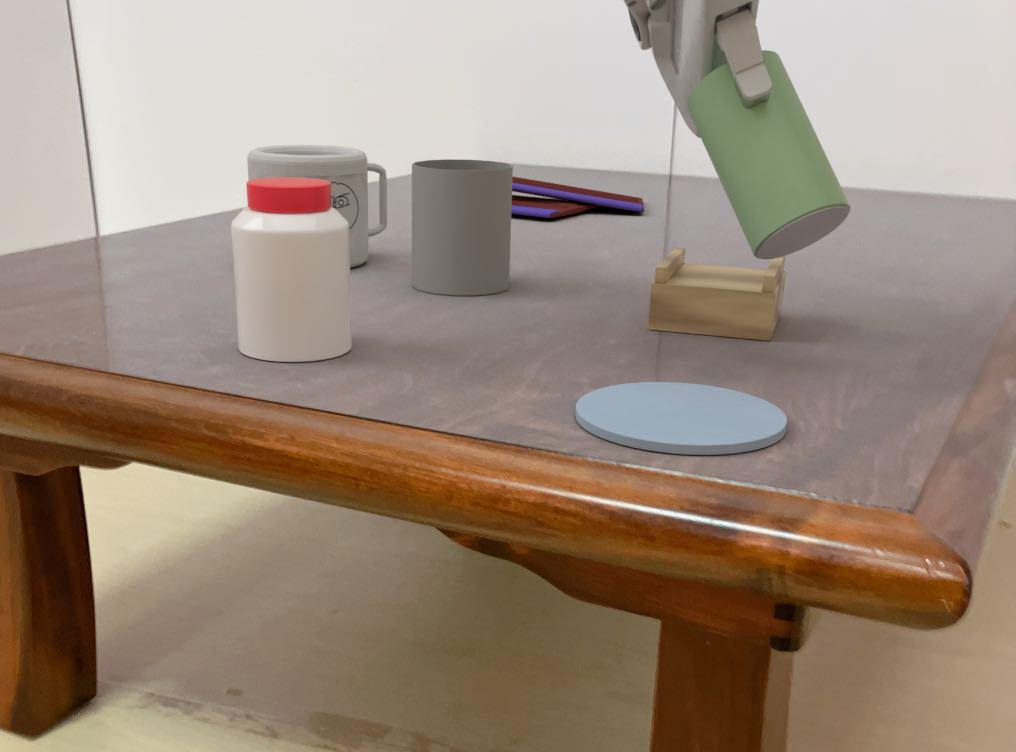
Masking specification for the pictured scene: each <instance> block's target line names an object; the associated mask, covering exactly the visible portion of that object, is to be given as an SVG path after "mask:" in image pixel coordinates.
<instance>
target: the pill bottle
mask: <svg viewBox="0 0 1016 752" xmlns="http://www.w3.org/2000/svg"><path fill="white" fill-rule="evenodd" d="M245 183H246V198H247V199H246V200H247V206H246V207H244V208H243V209H242V210H241V211H240V212H239V214H237V216H236V217H235V218H234V219H233V220H232V221H231V225H230V228H231V247H232V248H231V249H232V259H233V260H232V263H233V281H234V296H235V314H236V329H237V330H236V331H237V332H236V333H237V345H238V346H237V347H238V348H237V349H238V351H239V352H240V353H241V354H243V355H244V356H246V357H248V358H252V359H256V360H261V361H268V362H278V363H306V362H308V363H309V362H319V361H323V360H324V361H325V360H329V359H335V358H337V357H341V356H343V355H345V354H347V353H348V352H350V351H351V350H352V347H353V342H352V341H353V338H352V334H353V333H352V332H353V331H352V291H351V290H352V289H351V268H350V236H349V223H348V221H347V220H346V219H345V218H344V217H343V216H342V215H341V214H340V213H339V212H338V211H337V210H336V209H335V208H333V207H331V206H332V203H331V183H330V182H329V181H326V180H321V179H314V178H298V177H276V178H261V179H254V180H250V181H249V180H247V181H246V182H245Z"/></svg>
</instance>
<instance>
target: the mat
mask: <svg viewBox="0 0 1016 752" xmlns="http://www.w3.org/2000/svg"><path fill="white" fill-rule="evenodd" d="M574 416H575V420H576V422H577V423H578V425H579V426H580V427H582V429H584V430H585V431H587V432H588V433H590V434H592V435H594V436H596V437H598V438H600V439H603V440H606V441H608V442H611V443H614V444H617V445H620V446H624V447H629V448H633V449H638V450H643V451H649V452H657V453H661V454H662V453H664V454H674V455H685V456H686V455H687V456H717V455H718V456H720V455H721V456H722V455H733V454H741V453H748V452H752V451H753V452H754V451H757V450H760V449H764V448H768V447H769V446H772V445H775V444H776V443H778V442H779V441H780V440H781V439H783V438H784V437H785V435H786V433H787V429H788V418H787V415H786V414H785V412H784V411H783V410H782V409H780V407H778V406H777V405H775V404H773V403H771V402H770V401H767V400H766V399H763V398H760V397H758V396H755V395H753V394H749V393H745V392H743V391H739V390H734V389H729V388H725V387H720V386H714V385H707V384H700V383H689V382H678V381H677V382H673V381H643V382H630V383H628V382H627V383H621V384H620V383H619V384H613V385H609V386H605V387H601V388H597V389H594V390H592V391H590V392H589V391H588V392H587V393H585V394H584V395H582V396H581V397H580V398H579V399H578V400H577V402H576V404H575V411H574Z"/></svg>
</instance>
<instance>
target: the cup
mask: <svg viewBox="0 0 1016 752" xmlns="http://www.w3.org/2000/svg"><path fill="white" fill-rule="evenodd" d="M513 174H514V165H513V164H510V163H507V162H502V161H494V160H481V159H480V160H478V159H451V158H450V159H448V158H447V159H446V158H445V159H426V160H420V161H414V162H413V163H412V164H411V286H412V287H413V288H415V289H416V290H417V291H421V292H425V293H429V294H433V295H434V294H435V295H444V296H445V295H446V296H454V297H455V296H456V297H457V296H483V295H493V294H498V293H502V292H504V291H507V290H509V287H510V271H511V270H510V269H511V267H510V265H511V239H512V238H511V237H512V236H511V235H512V214H511V209H512V195H513V191H512V177H514V175H513Z"/></svg>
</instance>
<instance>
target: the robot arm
mask: <svg viewBox="0 0 1016 752" xmlns="http://www.w3.org/2000/svg"><path fill="white" fill-rule="evenodd" d="M623 2H624V4H625V6H626V7H627V10H628V11H627V12H628V15H629V20H630V24H631V27H632V31H633V34H634V36H635V39H636V42H637V43H638V46H639V47H640V49H641V50H642V51H647V50H651V54H652V57H653V60H654V62H655V64H656V67H657V69H658V71H659V74H660V76H661V78H662V80H663V82H664V84H665V86H666V88H667V90H668V93H669V94H670V96H671V98H672V101H673V102H674V104H675V105H676V108H677V109H678V112H679V113H680V115H681V117H682V119H683V122H684V123H685V125H686V126H687V127H688V129H689V130H690V131H691V133H693V134H694V136H695V137H697V138H699V139H701V137H700V135H699V133H698V131H697V128H696V126H695V124H694V122H693V120H692V117H691V115H690V113H689V111H688V108H687V100H688V97H689V95H690V94H691V92H692V91H693V89H694V88H695V87H696V86H697V85H698V84H699V83H700V82H701V81H702V80H703V79H704V78H705V77H706V76H707V75H709V74H710V73H711V72H713V71H714V70H715V69H717V68H718V67H720V66H722V65H723V64H725V63H727V62H728V63H729V66H730V68H731V71H732V74H733V76H734V79H735V84H734V86H735V89H736V91H737V93H738V95H739V97H740V100H741V102H742V105H743V106H744V107H746V108H752V107H754V106H756V105H758V104H761V103H764V102H766V101H767V100H768V99H769V96H770V92H771V88H772V81H771V78H770V76H769V74H768V71H767V69H766V67H765V64H764V60H763V55H762V46H761V41H760V36H759V31H758V27H757V25H756V24H757V18H758V11H759V4H760V0H623Z"/></svg>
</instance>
